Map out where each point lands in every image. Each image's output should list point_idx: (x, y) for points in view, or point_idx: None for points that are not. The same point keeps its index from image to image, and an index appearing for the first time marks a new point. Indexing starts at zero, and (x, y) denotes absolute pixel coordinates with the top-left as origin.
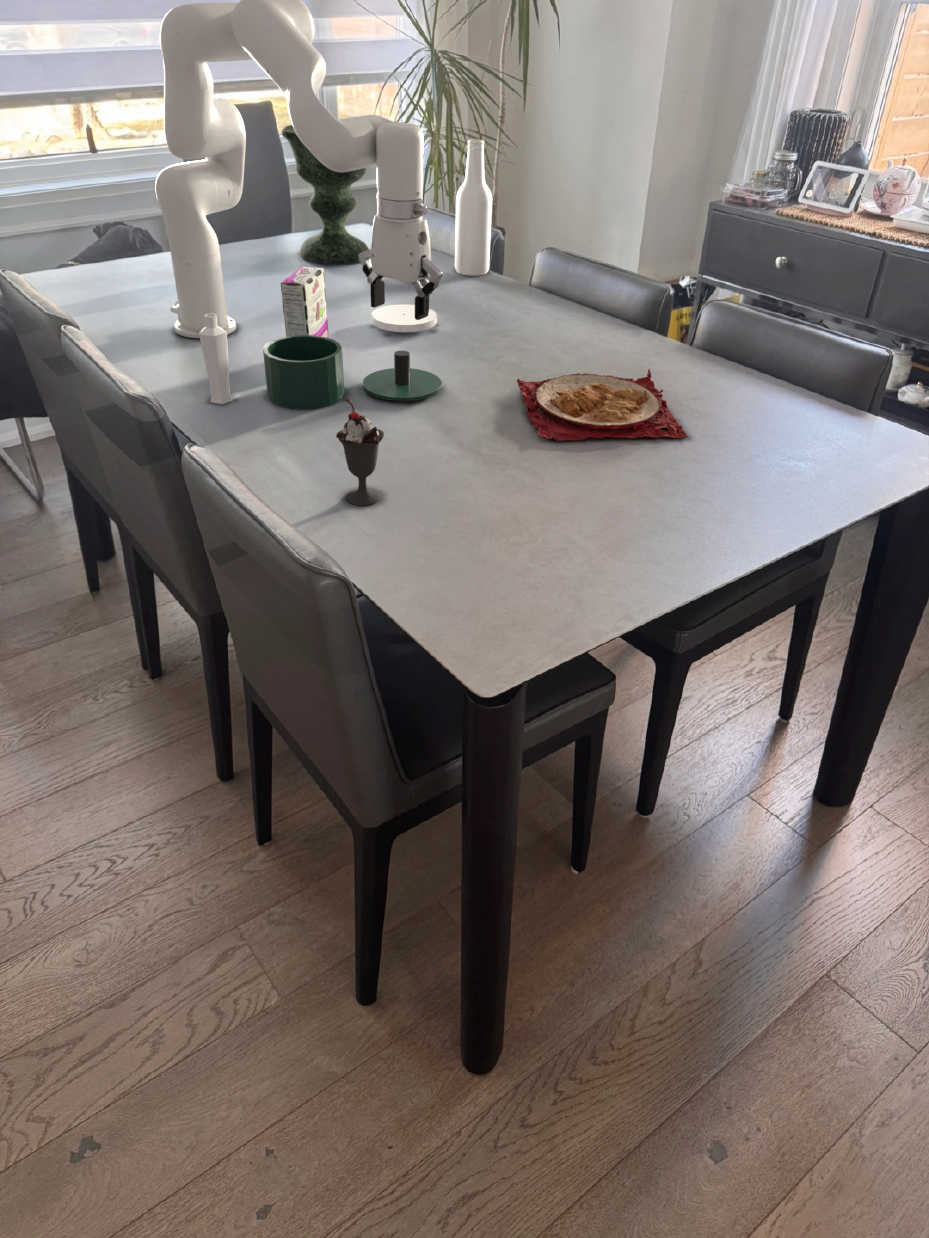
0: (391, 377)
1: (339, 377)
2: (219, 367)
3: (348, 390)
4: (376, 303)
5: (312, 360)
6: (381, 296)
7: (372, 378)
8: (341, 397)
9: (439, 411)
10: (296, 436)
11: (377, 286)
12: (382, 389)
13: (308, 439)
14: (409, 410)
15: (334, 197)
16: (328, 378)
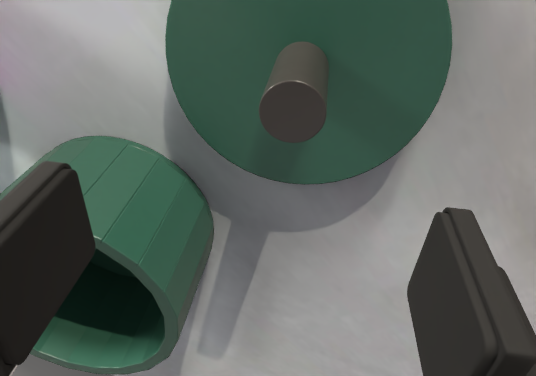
0: (244, 50)
1: (193, 248)
2: (13, 369)
3: (181, 152)
4: (82, 249)
5: (158, 356)
6: (52, 233)
7: (200, 93)
8: (206, 204)
9: (491, 152)
10: (258, 349)
11: (12, 334)
12: (280, 149)
13: (283, 350)
14: (402, 184)
15: None
16: (194, 291)
